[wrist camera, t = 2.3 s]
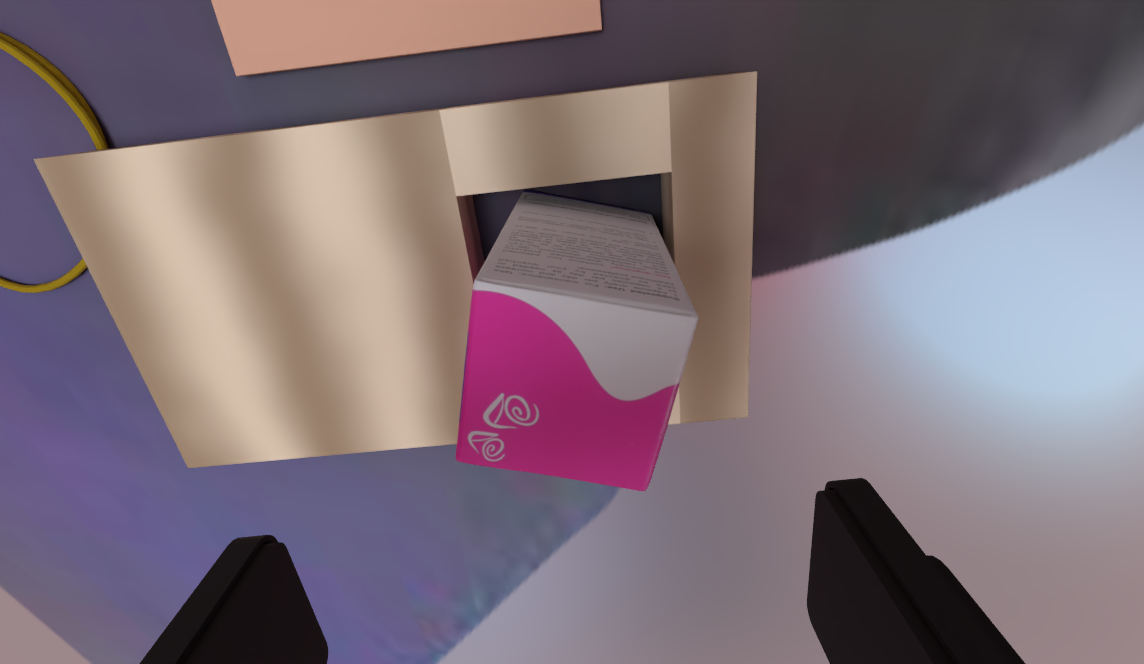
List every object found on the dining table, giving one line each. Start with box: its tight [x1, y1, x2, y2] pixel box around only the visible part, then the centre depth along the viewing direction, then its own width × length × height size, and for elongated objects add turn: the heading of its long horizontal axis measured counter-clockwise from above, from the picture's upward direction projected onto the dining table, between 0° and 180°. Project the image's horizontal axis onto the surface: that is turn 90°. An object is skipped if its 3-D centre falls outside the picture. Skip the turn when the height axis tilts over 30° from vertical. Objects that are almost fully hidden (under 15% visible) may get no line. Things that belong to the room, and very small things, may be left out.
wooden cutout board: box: [34, 71, 757, 468], centre depth 23 cm, size 26×14×3 cm, turn 96°
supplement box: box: [456, 190, 698, 491], centre depth 19 cm, size 6×6×12 cm
